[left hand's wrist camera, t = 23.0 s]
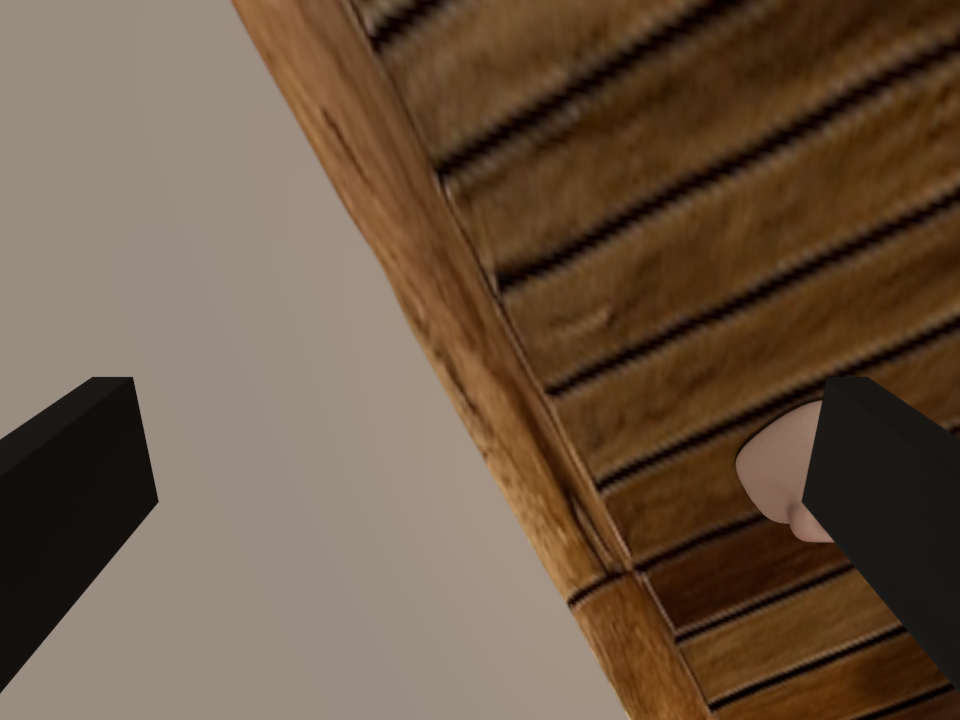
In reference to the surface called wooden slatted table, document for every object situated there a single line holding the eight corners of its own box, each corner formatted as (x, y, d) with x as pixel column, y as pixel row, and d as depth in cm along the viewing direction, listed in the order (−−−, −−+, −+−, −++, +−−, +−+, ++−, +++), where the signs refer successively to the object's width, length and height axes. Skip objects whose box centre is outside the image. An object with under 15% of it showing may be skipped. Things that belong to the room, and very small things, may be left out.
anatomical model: (729, 514, 46) (842, 386, 42) (710, 484, 49) (812, 363, 46) (869, 593, 48) (987, 478, 44) (841, 559, 52) (948, 450, 48)
